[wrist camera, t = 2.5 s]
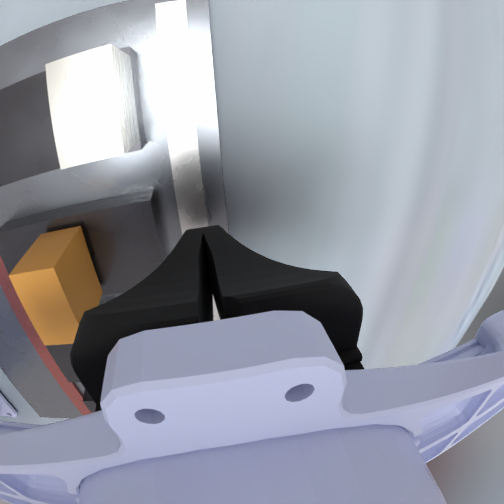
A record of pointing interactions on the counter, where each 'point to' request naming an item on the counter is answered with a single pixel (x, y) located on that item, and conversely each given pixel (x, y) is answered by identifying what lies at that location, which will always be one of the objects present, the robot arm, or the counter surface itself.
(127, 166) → the panel
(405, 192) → the counter surface
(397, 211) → the counter surface
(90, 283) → the orange block
